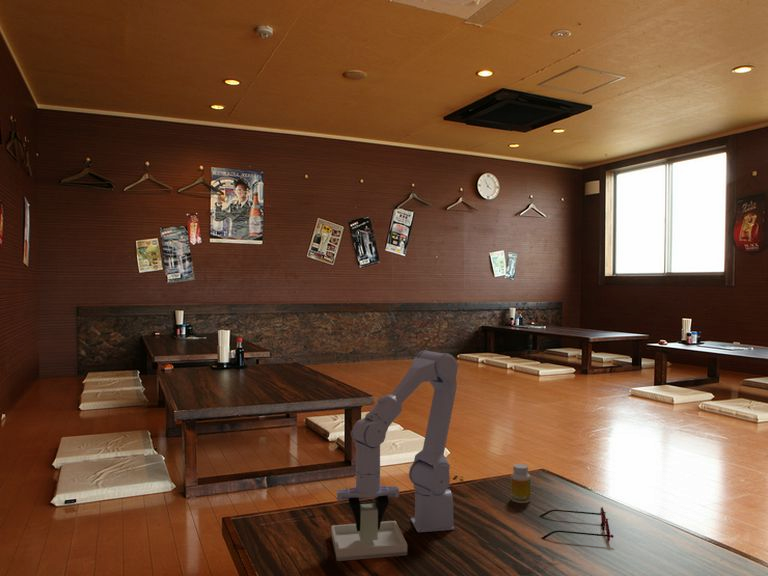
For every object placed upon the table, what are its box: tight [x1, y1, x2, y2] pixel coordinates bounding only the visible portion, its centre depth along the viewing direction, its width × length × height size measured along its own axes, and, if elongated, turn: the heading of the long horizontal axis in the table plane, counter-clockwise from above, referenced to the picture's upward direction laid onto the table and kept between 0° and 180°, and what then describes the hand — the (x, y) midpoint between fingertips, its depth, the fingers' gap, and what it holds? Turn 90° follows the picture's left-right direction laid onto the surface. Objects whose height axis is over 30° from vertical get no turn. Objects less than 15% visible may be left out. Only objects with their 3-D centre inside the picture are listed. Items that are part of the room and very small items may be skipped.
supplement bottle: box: [510, 463, 531, 504], centre depth 164 cm, size 5×5×10 cm
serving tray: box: [330, 520, 408, 562], centre depth 136 cm, size 16×13×2 cm
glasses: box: [538, 506, 615, 542], centre depth 145 cm, size 14×16×5 cm
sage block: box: [358, 502, 378, 541], centre depth 136 cm, size 4×4×7 cm
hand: (368, 528), depth 136 cm, fingers closed on sage block, 4 cm apart
